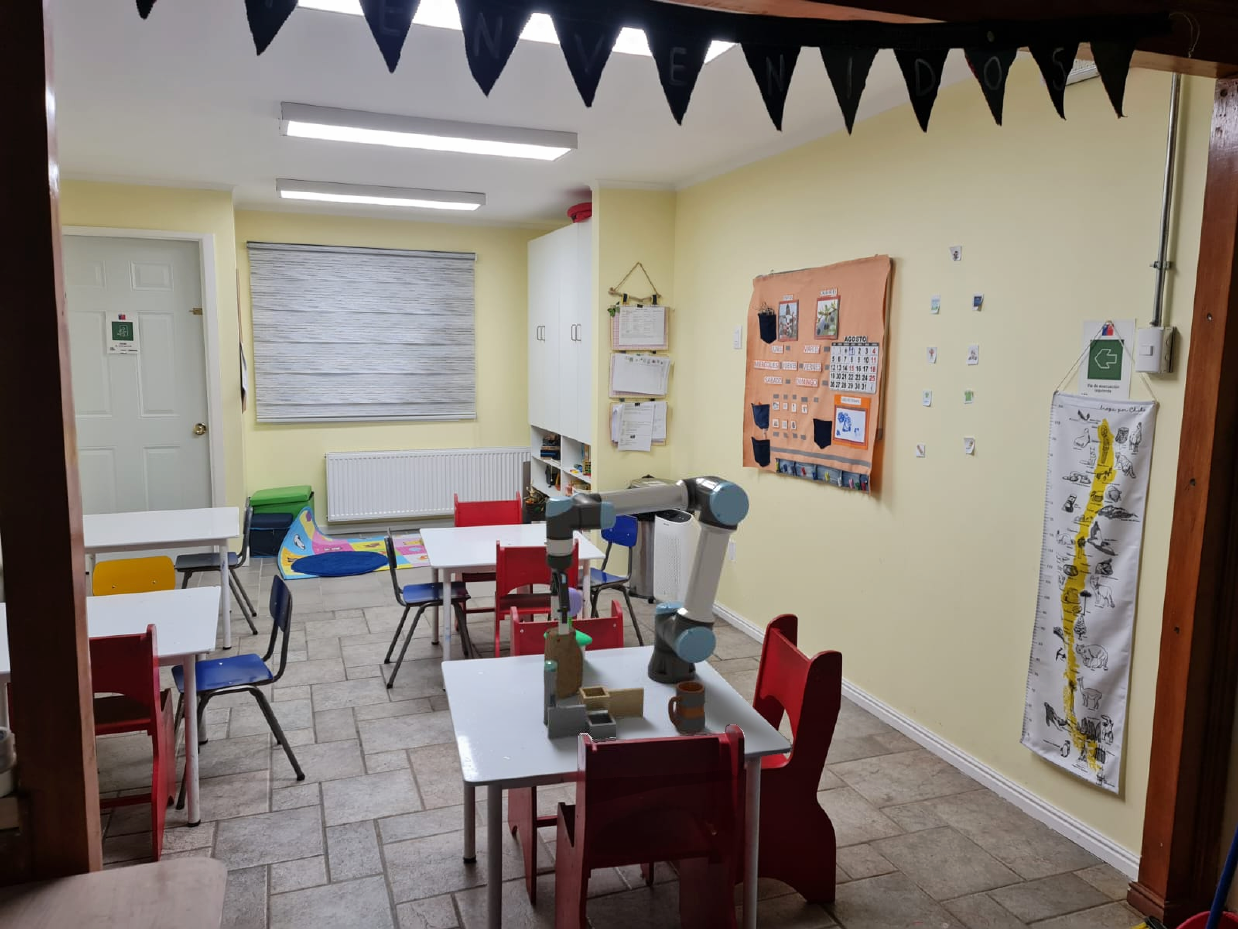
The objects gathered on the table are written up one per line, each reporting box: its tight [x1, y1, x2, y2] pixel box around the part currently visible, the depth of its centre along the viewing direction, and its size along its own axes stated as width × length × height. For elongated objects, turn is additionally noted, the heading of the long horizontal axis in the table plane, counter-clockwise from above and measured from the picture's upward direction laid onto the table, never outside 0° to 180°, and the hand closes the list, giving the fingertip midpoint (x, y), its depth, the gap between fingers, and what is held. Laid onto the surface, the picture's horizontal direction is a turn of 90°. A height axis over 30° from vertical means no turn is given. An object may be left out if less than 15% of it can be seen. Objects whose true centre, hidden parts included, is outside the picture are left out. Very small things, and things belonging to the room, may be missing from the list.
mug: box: [667, 680, 706, 734], centre depth 232 cm, size 9×12×12 cm
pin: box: [543, 660, 558, 726], centre depth 233 cm, size 3×3×17 cm
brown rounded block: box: [543, 626, 584, 699], centre depth 252 cm, size 11×8×20 cm
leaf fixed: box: [547, 704, 618, 741], centre depth 227 cm, size 18×7×8 cm, turn 104°
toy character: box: [543, 587, 593, 660], centre depth 276 cm, size 15×12×25 cm
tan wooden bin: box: [578, 685, 645, 719], centre depth 237 cm, size 18×7×8 cm, turn 104°
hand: (559, 625), depth 242 cm, fingers open, 13 cm apart
